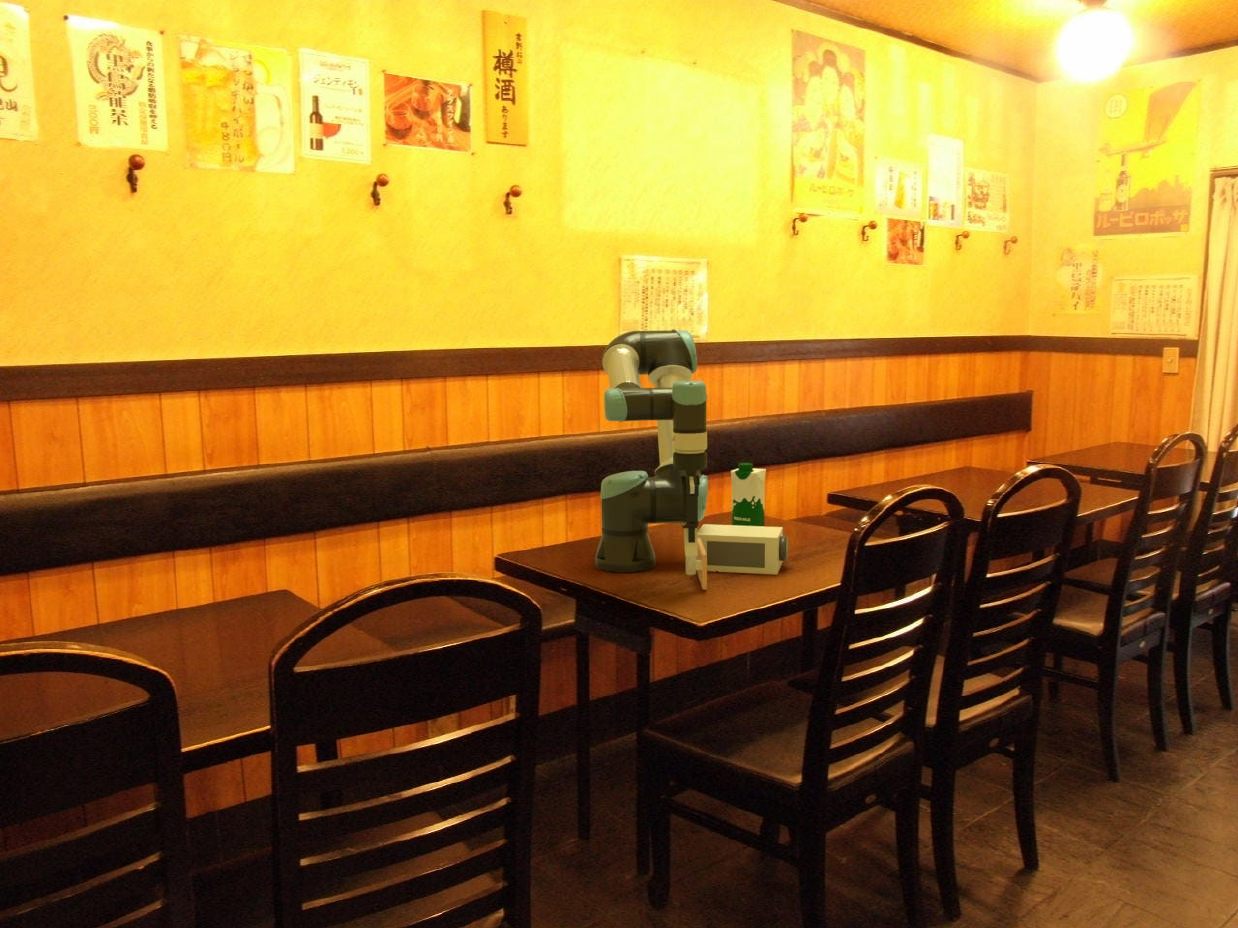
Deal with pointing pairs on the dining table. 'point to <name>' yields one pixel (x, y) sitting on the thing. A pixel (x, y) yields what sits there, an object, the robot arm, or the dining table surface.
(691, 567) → the side door
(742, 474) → the milk carton
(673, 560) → the dining table surface
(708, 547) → the camera body
